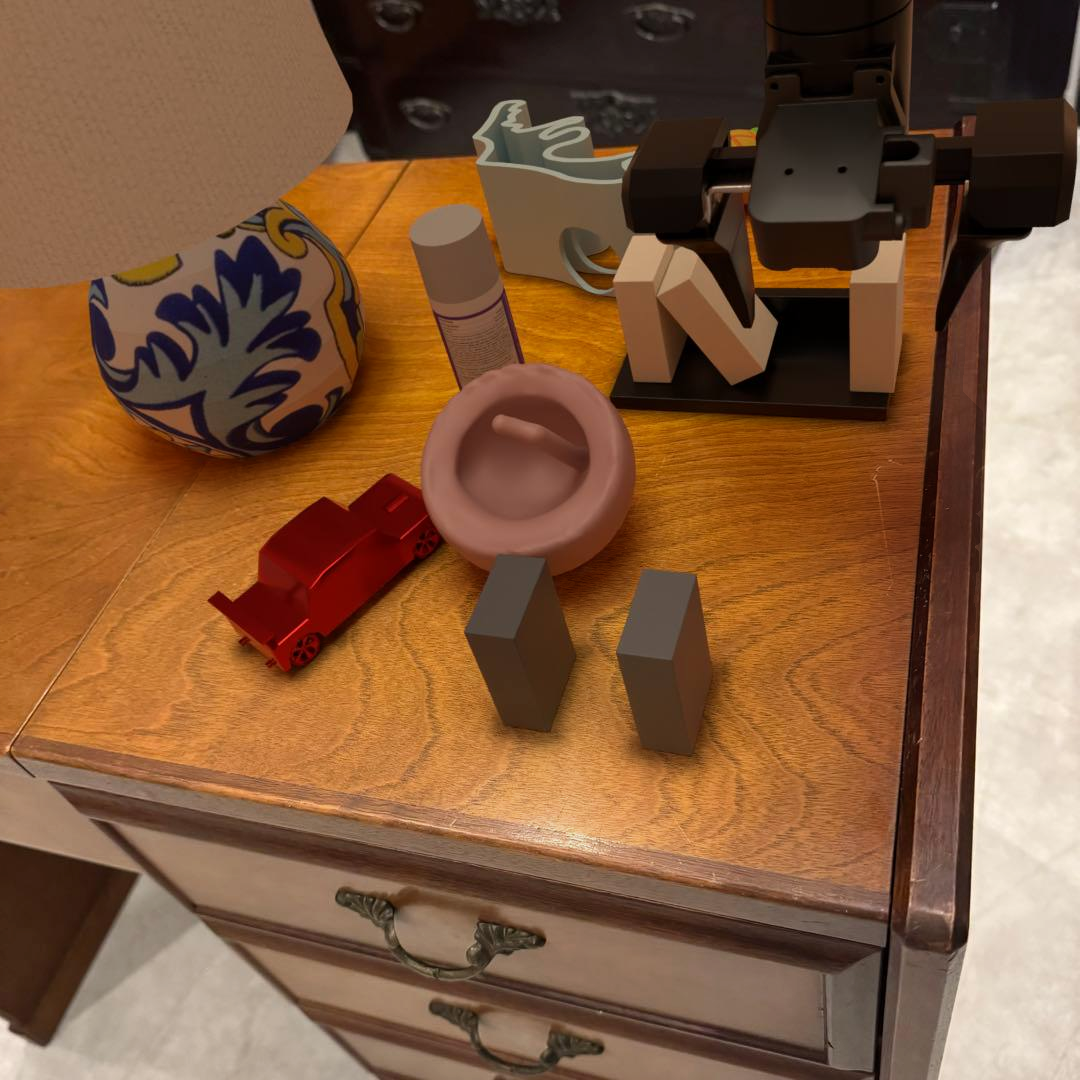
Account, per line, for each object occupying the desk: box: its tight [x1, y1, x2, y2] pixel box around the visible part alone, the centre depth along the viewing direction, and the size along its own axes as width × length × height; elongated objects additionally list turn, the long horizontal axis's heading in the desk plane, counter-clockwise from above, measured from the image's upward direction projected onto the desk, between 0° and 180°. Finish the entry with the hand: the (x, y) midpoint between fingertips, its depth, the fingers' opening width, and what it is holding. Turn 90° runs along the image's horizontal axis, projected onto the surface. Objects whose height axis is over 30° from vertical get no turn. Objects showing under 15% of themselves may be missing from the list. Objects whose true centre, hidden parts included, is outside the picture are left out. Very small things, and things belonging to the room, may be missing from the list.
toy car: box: [206, 472, 441, 673], centre depth 63 cm, size 14×6×5 cm, turn 137°
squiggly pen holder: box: [472, 99, 681, 298], centre depth 82 cm, size 18×10×9 cm, turn 56°
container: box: [408, 203, 526, 392], centre depth 67 cm, size 5×5×15 cm
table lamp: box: [0, 0, 366, 459], centre depth 66 cm, size 27×27×40 cm
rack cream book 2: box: [657, 247, 778, 385], centre depth 67 cm, size 3×5×8 cm
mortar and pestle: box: [420, 362, 637, 577], centre depth 60 cm, size 12×12×12 cm
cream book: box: [849, 232, 907, 394], centre depth 64 cm, size 3×5×8 cm, turn 162°
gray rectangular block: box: [615, 568, 714, 757], centre depth 51 cm, size 3×5×8 cm, turn 162°
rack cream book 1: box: [612, 235, 688, 383], centre depth 69 cm, size 3×5×8 cm, turn 162°
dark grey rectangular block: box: [463, 554, 577, 733], centre depth 54 cm, size 3×5×8 cm, turn 162°
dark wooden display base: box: [608, 287, 892, 421], centre depth 69 cm, size 18×8×4 cm, turn 72°
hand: (841, 325), depth 53 cm, fingers open, 9 cm apart
